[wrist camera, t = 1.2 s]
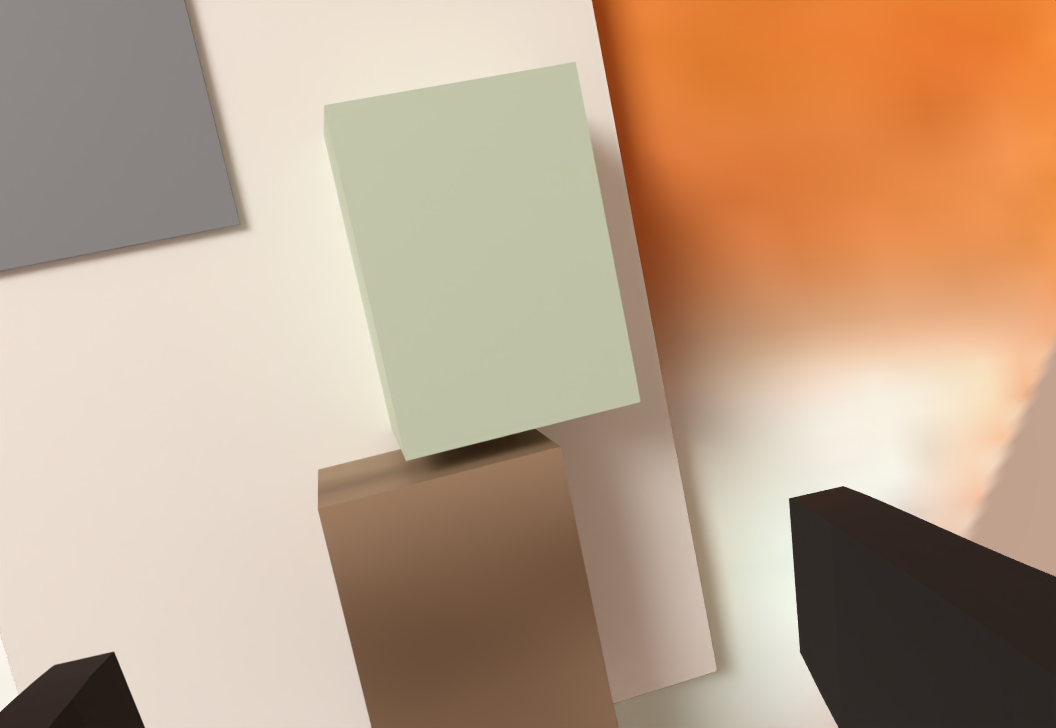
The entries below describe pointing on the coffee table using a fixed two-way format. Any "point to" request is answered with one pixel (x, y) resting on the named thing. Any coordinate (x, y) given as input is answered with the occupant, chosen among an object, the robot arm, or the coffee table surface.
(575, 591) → the walnut brick
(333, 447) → the board
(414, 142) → the sage brick
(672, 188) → the coffee table surface
